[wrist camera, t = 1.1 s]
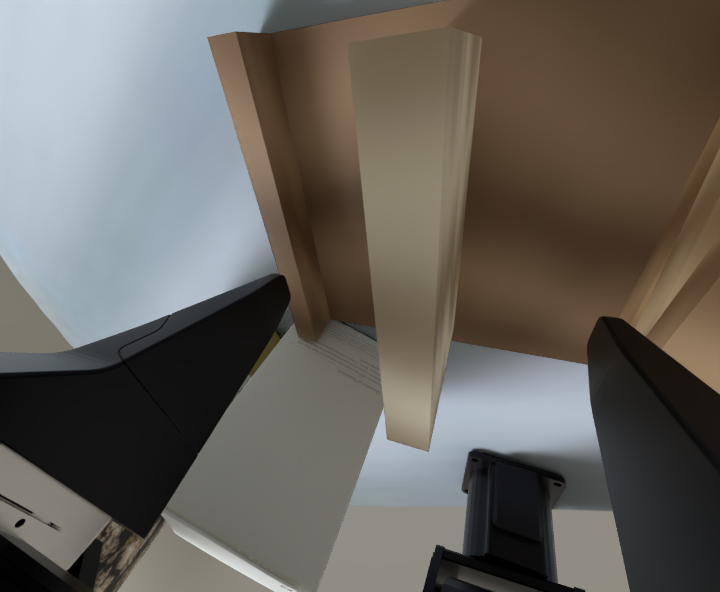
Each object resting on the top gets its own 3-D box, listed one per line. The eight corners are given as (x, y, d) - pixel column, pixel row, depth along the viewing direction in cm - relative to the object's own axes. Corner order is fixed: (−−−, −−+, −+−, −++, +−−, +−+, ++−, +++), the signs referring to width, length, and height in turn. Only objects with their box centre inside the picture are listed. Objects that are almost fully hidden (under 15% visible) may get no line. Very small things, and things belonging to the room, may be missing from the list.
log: (270, 304, 22) (-798, 1447, 4) (298, 368, 26) (-193, 1114, 8) (202, 298, 25) (-626, 974, 7) (237, 357, 29) (-236, 894, 11)
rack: (698, 371, 14) (730, 426, 12) (319, 308, 21) (298, 337, 19) (1093, -117, 6) (1400, -202, 4) (256, 39, 13) (207, 37, 11)
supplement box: (306, 301, 21) (145, 504, 12) (405, 353, 20) (319, 607, 11) (290, 360, 26) (168, 534, 17) (370, 403, 25) (290, 606, 16)
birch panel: (453, 327, 17) (428, 451, 12) (423, 322, 17) (387, 439, 12) (482, 37, 10) (450, 26, 4) (429, 45, 10) (346, 43, 5)
